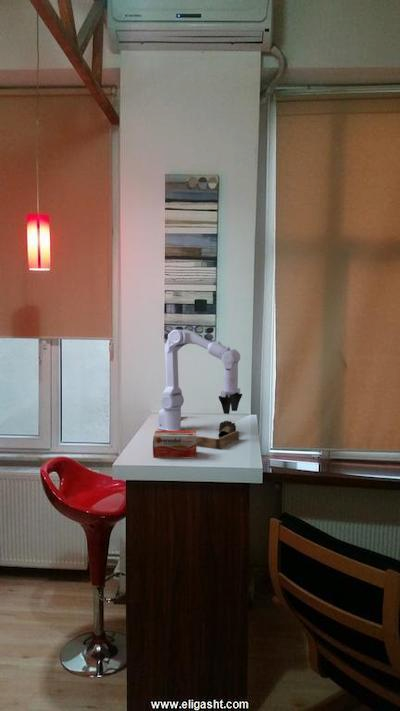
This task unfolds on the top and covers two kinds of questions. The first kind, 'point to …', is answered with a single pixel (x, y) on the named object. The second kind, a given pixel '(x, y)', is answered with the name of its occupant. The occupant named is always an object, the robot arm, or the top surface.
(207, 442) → the corner fence
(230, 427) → the brown rock
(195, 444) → the medicine box
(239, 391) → the robot arm
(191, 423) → the top surface
